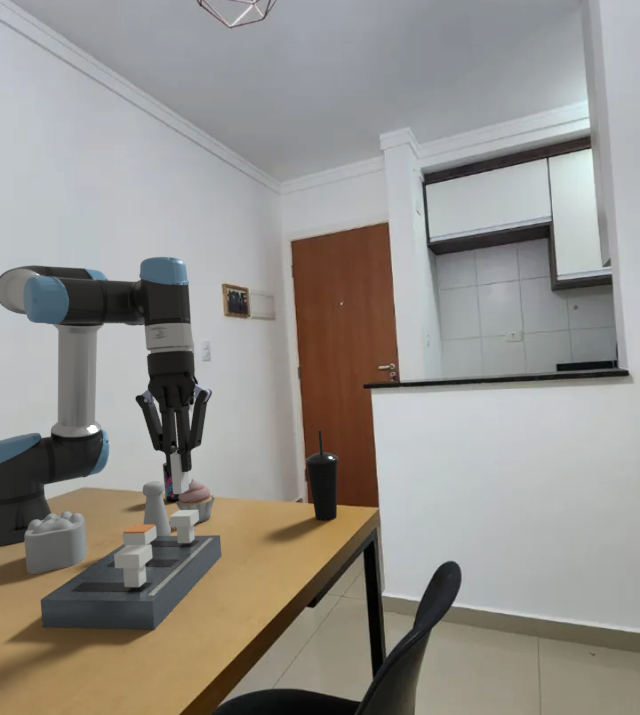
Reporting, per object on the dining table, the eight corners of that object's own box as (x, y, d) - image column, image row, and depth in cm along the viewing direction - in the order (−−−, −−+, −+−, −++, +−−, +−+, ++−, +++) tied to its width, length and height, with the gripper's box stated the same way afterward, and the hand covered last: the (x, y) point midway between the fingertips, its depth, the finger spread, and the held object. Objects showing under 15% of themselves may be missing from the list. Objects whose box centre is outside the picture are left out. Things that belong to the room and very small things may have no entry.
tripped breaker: (125, 564, 80) (122, 532, 80) (136, 556, 83) (134, 524, 83) (147, 564, 79) (144, 531, 79) (158, 555, 83) (155, 524, 83)
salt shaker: (162, 549, 98) (157, 486, 98) (137, 549, 99) (132, 486, 99) (176, 538, 104) (172, 478, 104) (152, 538, 105) (148, 479, 105)
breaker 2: (171, 544, 88) (169, 516, 88) (180, 537, 91) (178, 510, 91) (192, 544, 87) (189, 516, 87) (200, 537, 90) (198, 509, 90)
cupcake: (192, 512, 122) (189, 473, 122) (223, 514, 118) (220, 474, 119) (168, 525, 113) (165, 483, 113) (201, 527, 110) (198, 484, 110)
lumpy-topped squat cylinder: (22, 576, 90) (19, 530, 90) (36, 552, 102) (33, 512, 102) (83, 564, 93) (80, 520, 94) (89, 542, 106) (87, 503, 106)
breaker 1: (116, 589, 71) (114, 554, 71) (130, 578, 74) (127, 545, 74) (141, 589, 70) (138, 554, 70) (154, 578, 74) (151, 544, 74)
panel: (42, 626, 71) (40, 599, 71) (136, 556, 95) (134, 536, 95) (154, 629, 67) (152, 600, 67) (221, 556, 92) (219, 535, 92)
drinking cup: (332, 524, 105) (325, 433, 105) (303, 520, 109) (296, 433, 109) (348, 513, 111) (342, 428, 112) (321, 510, 115) (314, 427, 116)
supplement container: (161, 500, 136) (158, 463, 136) (183, 494, 141) (180, 459, 141) (171, 504, 131) (168, 466, 131) (194, 498, 136) (191, 461, 136)
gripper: (121, 354, 78) (133, 499, 77) (196, 347, 75) (208, 496, 75) (146, 354, 85) (156, 487, 85) (215, 348, 83) (226, 484, 82)
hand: (181, 491), depth 80 cm, fingers closed
